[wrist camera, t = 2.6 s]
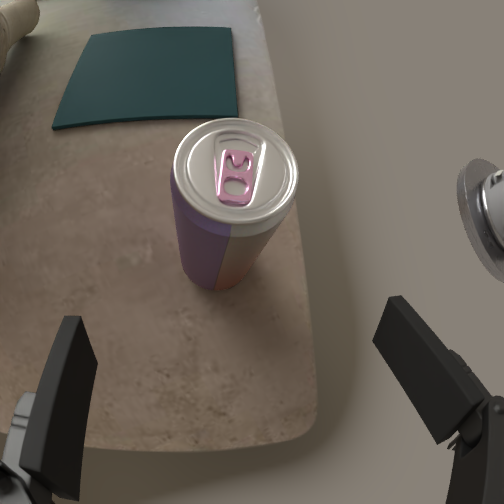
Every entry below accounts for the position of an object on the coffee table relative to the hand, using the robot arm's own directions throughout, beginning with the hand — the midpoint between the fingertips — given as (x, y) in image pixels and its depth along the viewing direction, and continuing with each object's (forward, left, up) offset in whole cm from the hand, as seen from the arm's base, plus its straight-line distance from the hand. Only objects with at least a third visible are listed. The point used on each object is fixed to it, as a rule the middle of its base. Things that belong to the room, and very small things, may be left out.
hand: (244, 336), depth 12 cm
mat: (+8, -33, -14) cm, 37 cm away
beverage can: (0, -7, -14) cm, 16 cm away
